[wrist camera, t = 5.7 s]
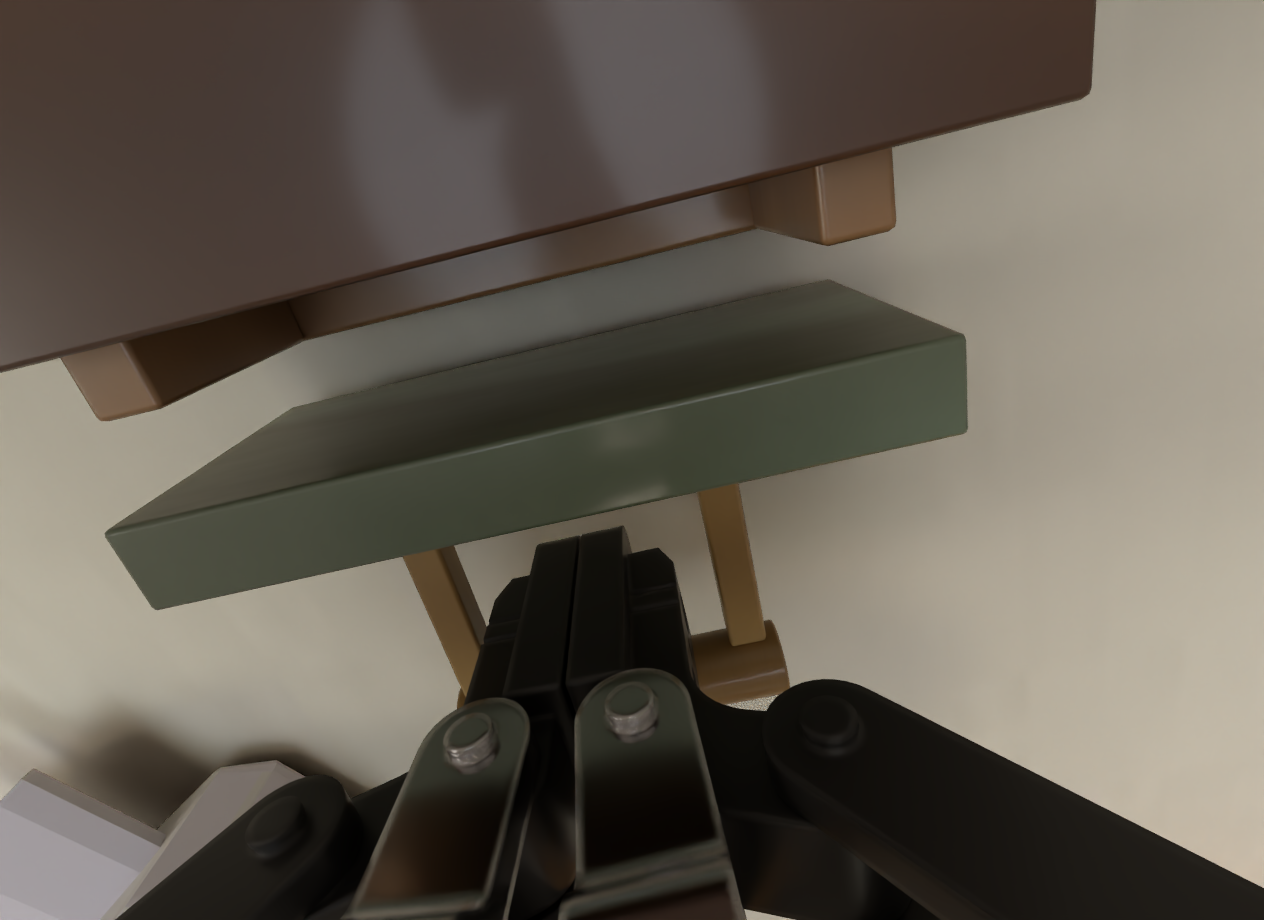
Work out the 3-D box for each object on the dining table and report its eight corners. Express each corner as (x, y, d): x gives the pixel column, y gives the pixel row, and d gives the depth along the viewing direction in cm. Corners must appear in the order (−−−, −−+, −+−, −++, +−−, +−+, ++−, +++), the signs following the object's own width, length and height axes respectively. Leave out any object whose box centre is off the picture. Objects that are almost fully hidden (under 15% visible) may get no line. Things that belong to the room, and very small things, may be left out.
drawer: (859, 559, 13) (975, 736, 9) (408, 652, 14) (315, 857, 10) (736, -636, 7) (932, -1992, 3) (-76, -355, 8) (-963, -1057, 3)
